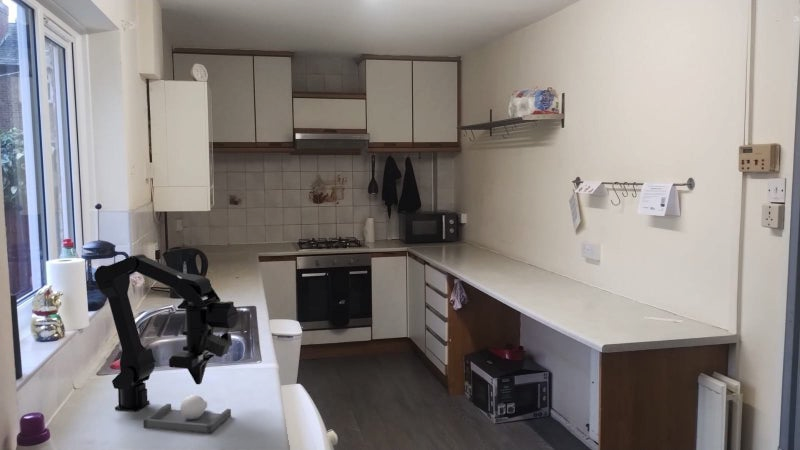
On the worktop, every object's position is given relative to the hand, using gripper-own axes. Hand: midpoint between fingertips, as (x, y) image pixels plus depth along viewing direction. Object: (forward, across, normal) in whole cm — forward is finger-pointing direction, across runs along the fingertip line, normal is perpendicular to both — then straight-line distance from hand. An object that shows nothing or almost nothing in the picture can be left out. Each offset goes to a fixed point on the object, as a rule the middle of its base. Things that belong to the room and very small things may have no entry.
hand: (198, 383), depth 163 cm
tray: (+8, -6, 0) cm, 10 cm away
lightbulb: (+7, +3, 0) cm, 8 cm away
